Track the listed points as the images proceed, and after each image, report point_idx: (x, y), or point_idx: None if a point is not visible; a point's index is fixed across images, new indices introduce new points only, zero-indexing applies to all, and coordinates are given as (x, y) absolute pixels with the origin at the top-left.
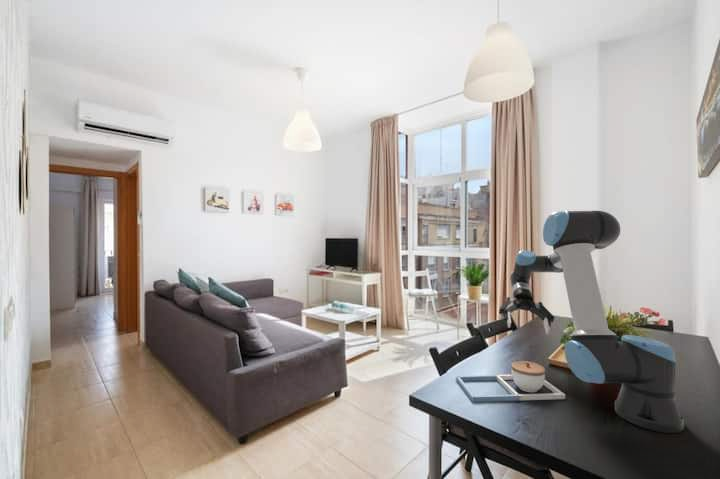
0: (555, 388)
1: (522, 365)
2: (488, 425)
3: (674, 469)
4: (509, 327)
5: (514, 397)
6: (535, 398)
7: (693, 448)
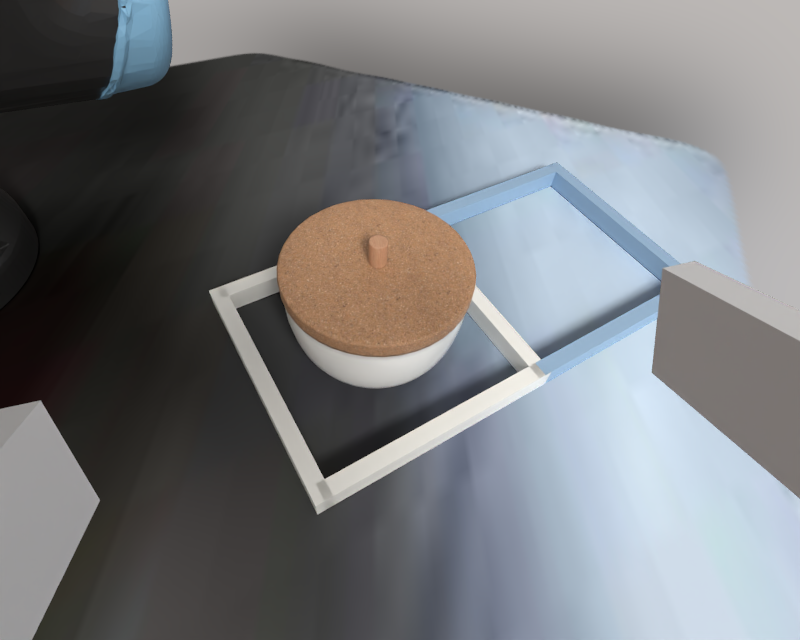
0: (239, 332)
1: (408, 259)
2: (471, 104)
3: None
4: (659, 366)
5: None
6: None
7: None
